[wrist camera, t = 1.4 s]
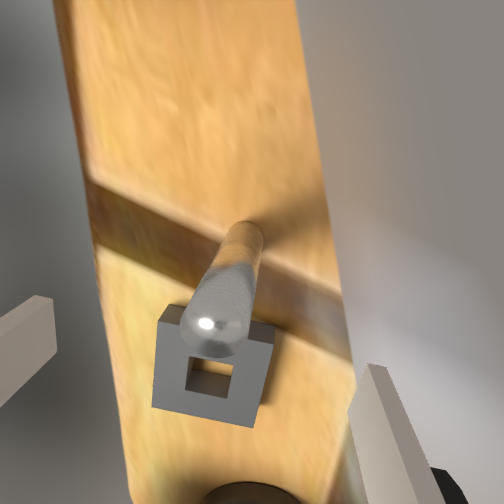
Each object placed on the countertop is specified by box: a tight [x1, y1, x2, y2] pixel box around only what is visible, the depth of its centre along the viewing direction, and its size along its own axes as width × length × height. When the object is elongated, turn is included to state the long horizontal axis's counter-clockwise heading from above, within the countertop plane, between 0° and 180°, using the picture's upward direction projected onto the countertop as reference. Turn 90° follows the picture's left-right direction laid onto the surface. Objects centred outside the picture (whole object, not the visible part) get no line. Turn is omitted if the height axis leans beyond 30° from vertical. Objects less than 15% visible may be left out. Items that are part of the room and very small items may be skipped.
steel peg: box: [180, 221, 264, 358], centre depth 21 cm, size 3×3×14 cm
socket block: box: [152, 304, 275, 428], centre depth 32 cm, size 11×11×3 cm
